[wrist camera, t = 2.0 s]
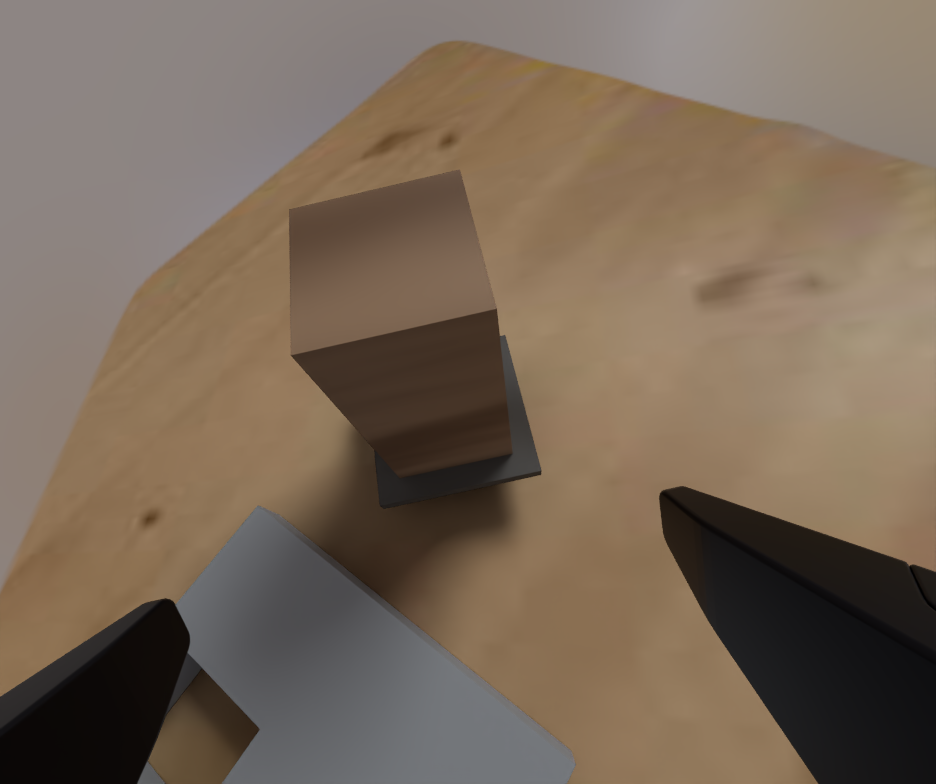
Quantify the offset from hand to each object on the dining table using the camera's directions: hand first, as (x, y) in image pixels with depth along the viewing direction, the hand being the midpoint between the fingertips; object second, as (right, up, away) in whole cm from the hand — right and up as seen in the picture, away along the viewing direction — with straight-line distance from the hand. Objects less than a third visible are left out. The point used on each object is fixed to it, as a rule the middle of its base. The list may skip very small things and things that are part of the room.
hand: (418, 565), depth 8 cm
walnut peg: (0, +1, +15) cm, 15 cm away
